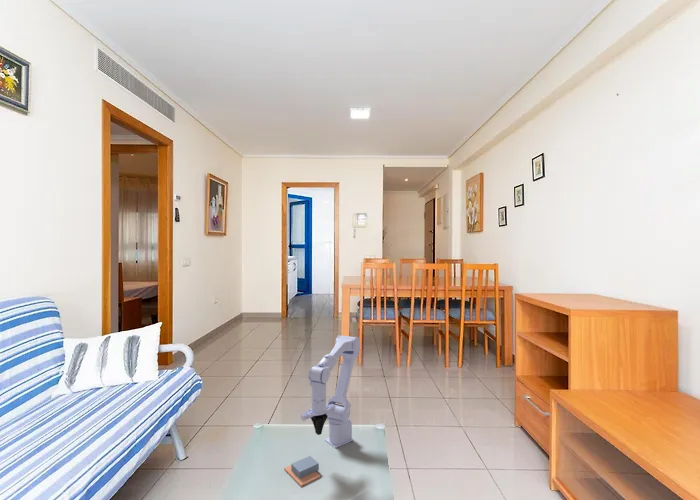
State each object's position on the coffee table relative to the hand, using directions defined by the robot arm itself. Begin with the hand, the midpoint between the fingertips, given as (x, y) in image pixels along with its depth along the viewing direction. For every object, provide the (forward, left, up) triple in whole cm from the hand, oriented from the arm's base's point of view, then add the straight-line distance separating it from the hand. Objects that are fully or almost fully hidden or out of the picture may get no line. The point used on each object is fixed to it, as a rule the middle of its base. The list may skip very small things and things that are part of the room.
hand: (318, 433), depth 138 cm
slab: (+4, +3, -9) cm, 10 cm away
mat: (+9, +3, -10) cm, 14 cm away
